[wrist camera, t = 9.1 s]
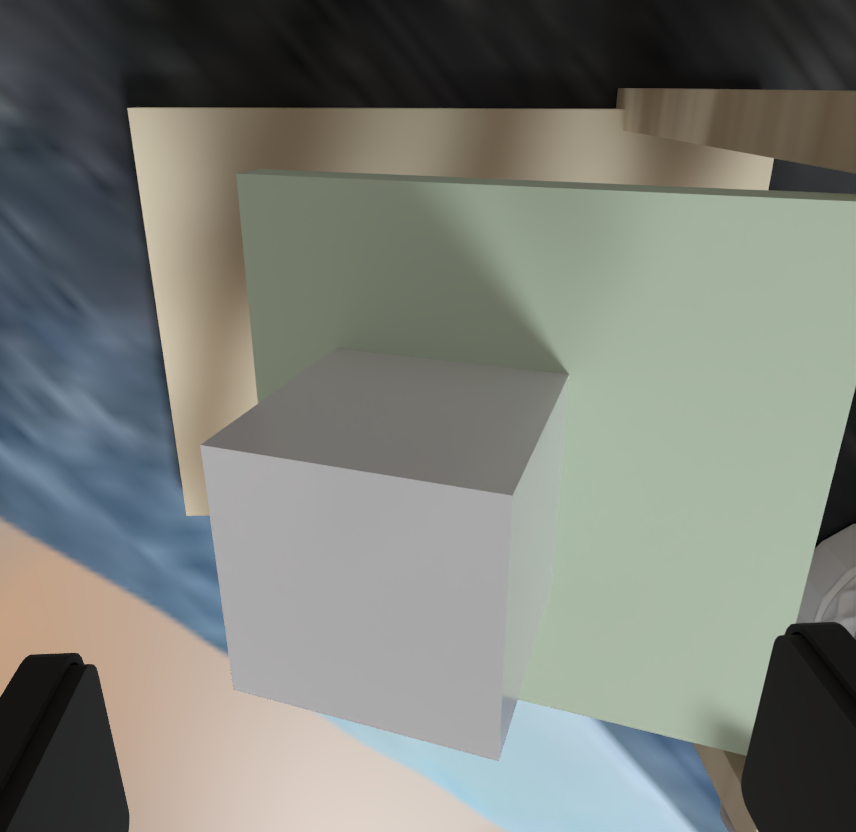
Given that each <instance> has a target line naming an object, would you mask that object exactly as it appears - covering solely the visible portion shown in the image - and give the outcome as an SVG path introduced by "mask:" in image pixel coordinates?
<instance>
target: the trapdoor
mask: <svg viewBox="0 0 856 832" xmlns="http://www.w3.org/2000/svg"><path fill="white" fill-rule="evenodd" d="M236 178H237V188H238V199H239V209H240V220H241V231H242V241H243V252H244V262H245V273H246V284H247V294H248V305H249V315H250V326H251V336H252V347H253V358H254V368H255V379H256V389H257V400H258V403H260V402H261V401H263V400H264V399H265V398H267V397H268V396H270V395H271V394H272V393H274V392H275V391H277V390H278V389H279V388H281V387H282V386H284V385H285V384H286V383H288V382H289V381H291V380H292V379H293V378H295V377H296V376H298V375H299V374H300V373H302V372H303V371H305V370H306V369H307V368H309V367H310V366H312V365H313V364H314V363H316V362H317V361H319V360H320V359H321V358H323V357H324V356H326V355H327V354H328V353H330V352H331V351H333V350H334V349H335V348H338V349H347V350H356V351H365V352H374V353H382V354H391V355H400V356H409V357H418V358H427V359H436V360H445V361H454V362H463V363H472V364H481V365H490V366H498V367H507V368H516V369H525V370H534V371H543V372H552V373H561V374H569V382H568V395H567V407H566V419H565V432H564V444H563V456H562V469H561V481H560V493H559V506H558V518H557V530H556V543H555V555H554V567H553V580H552V587H551V590H550V594H549V597H548V600H547V604H546V607H545V610H544V614H543V617H542V620H541V623H540V627H539V630H538V633H537V637H536V640H535V643H534V646H533V650H532V653H531V656H530V660H529V663H528V666H527V670H526V673H525V676H524V679H523V683H522V686H521V689H520V693H519V696H518V700H523V701H527V702H531V703H535V704H539V705H543V706H547V707H551V708H555V709H559V710H563V711H567V712H571V713H575V714H579V715H583V716H587V717H591V718H595V719H600V720H604V721H608V722H612V723H616V724H620V725H624V726H628V727H632V728H636V729H640V730H644V731H648V732H652V733H656V734H660V735H664V736H668V737H672V738H676V739H681V740H685V741H689V742H693V743H697V744H701V745H705V746H709V747H713V748H717V749H721V750H725V751H729V752H733V753H737V754H741V755H745V756H747V752H748V748H749V744H750V739H751V735H752V731H753V727H754V723H755V719H756V715H757V710H758V706H759V702H760V698H761V694H762V690H763V686H764V681H765V677H766V673H767V669H768V665H769V661H770V657H771V652H772V648H773V644H774V641H775V639H776V638H777V637H778V636H780V635H784V634H785V632H786V629H787V628H788V627H789V626H790V625H791V624H795V623H796V621H797V617H798V613H799V609H800V605H801V601H802V597H803V593H804V589H805V585H806V581H807V577H808V573H809V569H810V565H811V561H812V557H813V553H814V549H815V545H816V541H817V538H818V534H819V530H820V526H821V522H822V518H823V514H824V510H825V506H826V502H827V498H828V494H829V490H830V486H831V482H832V478H833V474H834V470H835V466H836V462H837V458H838V455H839V451H840V447H841V443H842V439H843V435H844V431H845V427H846V423H847V419H848V415H849V411H850V407H851V403H852V399H853V395H854V391H855V387H856V194H841V193H817V192H794V191H770V190H747V189H723V188H700V187H676V186H653V185H629V184H606V183H582V182H559V181H535V180H512V179H488V178H465V177H441V176H418V175H394V174H371V173H347V172H324V171H300V170H276V169H258V170H252V171H247V172H242V173H236ZM854 638H855V640H856V632H855V636H854Z"/></svg>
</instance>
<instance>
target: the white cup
mask: <svg viewBox="0 0 856 832" xmlns="http://www.w3.org/2000/svg"><path fill="white" fill-rule="evenodd" d="M815 622H837V623H839V624H841V625H842V626H843V627H845V628H846V629H847V630H848V632H849V633H850V634H851V635H852V636H853V637H854V636H855V632H856V523H855V524H852V525H850V526H849V527H847V528H845V529H843V530H841V531H840V532H838V533H836V534H834V535H832V536H831V537H829V538H827V539H825V540H823V541H822V542H820V544H819V545H818V546H817V547H816V548H815V549H814V553H813V557H812V561H811V565H810V569H809V573H808V577H807V581H806V585H805V589H804V593H803V597H802V601H801V605H800V609H799V613H798V617H797V621H796V623H815Z"/></svg>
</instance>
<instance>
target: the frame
mask: <svg viewBox="0 0 856 832" xmlns="http://www.w3.org/2000/svg"><path fill="white" fill-rule="evenodd" d="M127 110H128V116H129V123H130V130H131V137H132V144H133V151H134V158H135V165H136V171H137V178H138V185H139V192H140V199H141V206H142V213H143V219H144V226H145V233H146V240H147V247H148V254H149V261H150V268H151V274H152V281H153V288H154V295H155V302H156V309H157V316H158V322H159V329H160V336H161V343H162V350H163V357H164V364H165V371H166V377H167V384H168V391H169V398H170V405H171V412H172V419H173V425H174V432H175V439H176V446H177V453H178V460H179V467H180V474H181V480H182V487H183V494H184V501H185V508H186V515H187V516H201V515H210V513H209V506H208V498H207V491H206V484H205V476H204V469H203V461H202V454H201V447H200V445H201V444H202V443H204V442H205V441H206V440H208V439H209V438H211V437H212V436H213V435H215V434H216V433H218V432H219V431H220V430H222V429H223V428H225V427H226V426H227V425H229V424H230V423H232V422H233V421H235V420H236V419H237V418H239V417H240V416H242V415H243V414H244V413H246V412H247V411H249V410H250V409H251V408H253V407H254V406H256V405H257V404H258V400H257V389H256V379H255V368H254V358H253V347H252V336H251V326H250V315H249V305H248V294H247V284H246V273H245V262H244V252H243V241H242V231H241V220H240V209H239V199H238V188H237V178H236V173H242V172H247V171H252V170H258V169H276V170H300V171H324V172H347V173H371V174H394V175H418V176H441V177H465V178H488V179H512V180H535V181H559V182H582V183H606V184H629V185H653V186H676V187H700V188H723V189H747V190H768V188H769V183H770V177H771V172H772V166H773V161H774V158H775V159H780V160H786V161H791V162H797V163H802V164H807V165H813V166H818V167H824V168H829V169H834V170H840V171H845V172H851V173H856V91H820V90H750V89H680V88H618V93H617V103H616V109H572V108H265V107H133V108H127ZM693 744H694V746H695V748H696V750H697V752H698V754H699V756H700V758H701V761H702V763H703V765H704V767H705V769H706V771H707V773H708V775H709V777H710V779H711V781H712V783H713V785H714V787H715V789H716V791H717V794H718V796H719V798H720V800H721V803H720V816H721V819H722V821H723V823H724V825H725V827H726V828H727V829H728V831H729V832H758V830H757V828H756V826H755V824H754V822H753V820H752V818H751V816H750V814H749V812H748V810H747V808H746V806H745V803H744V800H743V796H742V791H741V777H742V773H743V768H744V764H745V760H746V756H745V755H741V754H737V753H733V752H729V751H725V750H721V749H717V748H713V747H709V746H705V745H701V744H697V743H693Z"/></svg>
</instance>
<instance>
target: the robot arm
mask: <svg viewBox="0 0 856 832" xmlns="http://www.w3.org/2000/svg"><path fill="white" fill-rule="evenodd" d="M741 791H742V796H743V800H744V803H745V806H746V808H747V810H748V812H749V814H750V816H751V818H752V820H753V822H754V824H755V826H756V828H757V830H758V832H856V640H855V638H854V637H853V636H852V635H851V634H850V633H849V632H848V630H847V629H846V628H845V627H843V626H842V625H841V624H839V623H837V622H815V623H795V624H791V625H790V626H789V627H788V628H787V629H786V632H785V634H784V635H780V636H778V637H777V638H776V639H775V641H774V644H773V648H772V652H771V657H770V661H769V665H768V669H767V673H766V677H765V681H764V686H763V690H762V694H761V698H760V702H759V706H758V710H757V715H756V719H755V723H754V727H753V731H752V735H751V739H750V744H749V748H748V752H747V756H746V760H745V764H744V768H743V773H742V777H741ZM128 830H129V810H128V805H127V801H126V796H125V792H124V787H123V783H122V778H121V774H120V769H119V765H118V760H117V756H116V752H115V747H114V743H113V738H112V734H111V729H110V725H109V720H108V716H107V712H106V707H105V702H104V698H103V693H102V689H101V684H100V680H99V676H98V671H97V669H96V667H95V666H94V665H92V664H86V665H84V663H83V660H82V657H81V656H80V655H79V654H77V653H63V654H39V655H29V656H28V657H26V658H25V659H24V660H23V662H22V663H21V664H20V666H19V667H18V669H17V671H16V672H15V674H14V676H13V677H12V679H11V681H10V682H9V684H8V685H7V687H6V689H5V690H4V692H3V694H2V695H1V697H0V832H128Z"/></svg>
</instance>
